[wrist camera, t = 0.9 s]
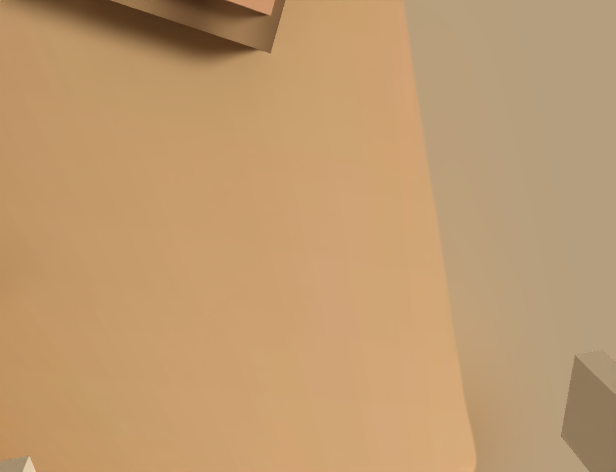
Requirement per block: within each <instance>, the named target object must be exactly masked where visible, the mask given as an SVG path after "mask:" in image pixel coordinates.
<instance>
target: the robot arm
mask: <svg viewBox="0 0 616 472" xmlns="http://www.w3.org/2000/svg"><path fill="white" fill-rule="evenodd" d="M561 437H562V438H563V439H564V440H565V442H566V443H567V444H568V445H569V447H570V448H571V449H572V450H573V452H574V453H575V454H576V455H577V457H578V458H579V459H580V460H581V461H582V463H583V464H584V465H585V466H586V468H587V469H588V470H589V471H590V472H616V361H615V360H614V359H612V358H611V357H610V356H609V355H608V354H607V353H606V352H604V351H603V350H600V351H595V352H589V353H584V354H578V355H575V358H574V364H573V370H572V375H571V381H570V387H569V393H568V399H567V404H566V410H565V416H564V422H563V428H562V434H561ZM0 472H36V471H35V469H34V466H33V464H32V462H31V459H30V457H29V456H25V457H20V458H14V459H9V460H4V461H0Z"/></svg>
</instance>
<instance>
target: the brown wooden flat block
mask: <svg viewBox="0 0 616 472" xmlns="http://www.w3.org/2000/svg"><path fill="white" fill-rule="evenodd" d="M111 1H114V2H117V3H120V4H123V5H126V6H129V7H132V8H135V9H138V10H141V11H144V12H147V13H150V14H153V15H156V16H159V17H162V18H165V19H168V20H171V21H174V22H177V23H180V24H183V25H186V26H189V27H192V28H195V29H198V30H201V31H204V32H208V33H211V34H214V35H217V36H220V37H223V38H226V39H229V40H232V41H235V42H238V43H241V44H244V45H247V46H250V47H253V48H256V49H259V50H262V51H265V52H268V53H271V49H272V46H273V42H274V39H275V35H276V32H277V28H278V24H279V21H280V17H281V14H282V10H283V7H284V3H285V0H275V2H274V6H273V9H272V13H271V16H270V15H265V14H263V13H260V12H257V11H254V10H251V9H248V8H246V7H243V6H240V5H237V4H234V3H231V2H228V1H226V0H111Z"/></svg>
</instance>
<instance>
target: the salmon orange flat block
mask: <svg viewBox="0 0 616 472" xmlns="http://www.w3.org/2000/svg"><path fill="white" fill-rule="evenodd" d="M226 1H228V2H231V3H234V4H237V5H240V6H243V7H246V8H248V9H251V10H254V11H257V12H260V13H263V14H265V15H270V16H271V13H272V9H273V6H274V2H275V0H226Z"/></svg>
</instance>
